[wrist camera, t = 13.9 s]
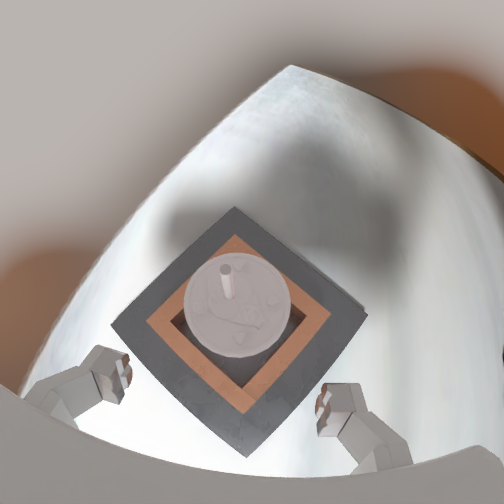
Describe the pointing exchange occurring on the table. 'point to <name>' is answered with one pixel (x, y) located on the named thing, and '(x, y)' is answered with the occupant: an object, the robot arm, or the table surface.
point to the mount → (247, 368)
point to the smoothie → (237, 305)
